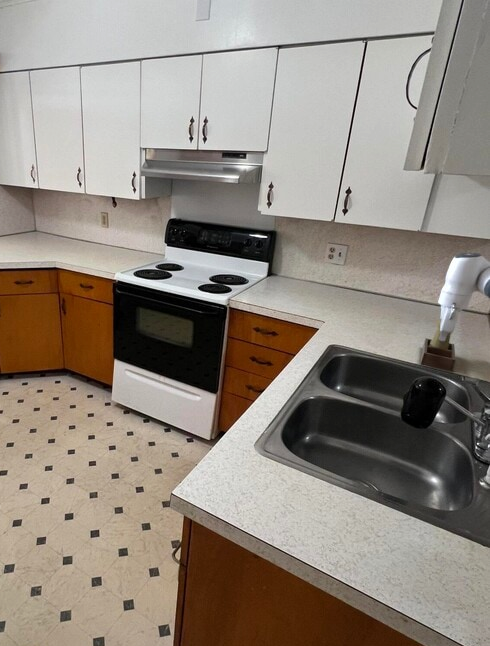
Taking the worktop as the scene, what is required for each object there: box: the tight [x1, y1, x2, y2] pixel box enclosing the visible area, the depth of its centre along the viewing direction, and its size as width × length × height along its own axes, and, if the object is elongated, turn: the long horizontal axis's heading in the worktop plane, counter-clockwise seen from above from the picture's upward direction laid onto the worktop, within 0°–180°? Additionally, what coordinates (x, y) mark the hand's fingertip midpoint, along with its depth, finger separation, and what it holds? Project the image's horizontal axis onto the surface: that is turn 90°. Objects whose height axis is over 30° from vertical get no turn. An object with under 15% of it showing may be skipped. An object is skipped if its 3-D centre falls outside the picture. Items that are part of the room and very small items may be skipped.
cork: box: [429, 318, 452, 350], centre depth 150 cm, size 6×6×11 cm
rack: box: [420, 338, 456, 373], centre depth 149 cm, size 9×17×5 cm, turn 148°
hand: (441, 337), depth 151 cm, fingers closed on cork, 4 cm apart
